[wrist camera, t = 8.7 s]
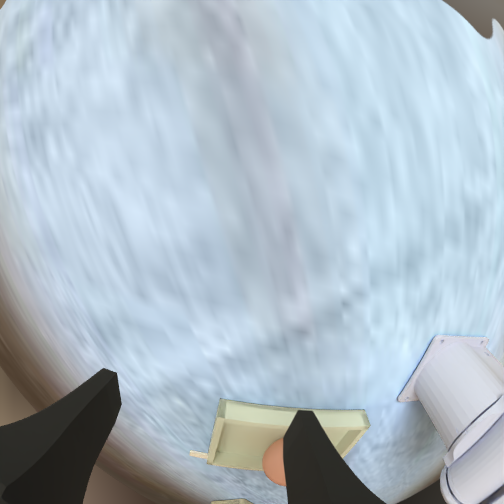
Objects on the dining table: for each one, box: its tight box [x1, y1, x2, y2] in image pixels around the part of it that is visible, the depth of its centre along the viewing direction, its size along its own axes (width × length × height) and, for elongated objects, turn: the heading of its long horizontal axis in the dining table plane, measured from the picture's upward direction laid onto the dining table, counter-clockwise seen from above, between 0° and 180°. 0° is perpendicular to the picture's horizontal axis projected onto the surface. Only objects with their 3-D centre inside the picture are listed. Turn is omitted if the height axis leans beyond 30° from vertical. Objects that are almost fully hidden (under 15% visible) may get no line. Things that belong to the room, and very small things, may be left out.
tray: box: [207, 399, 371, 471], centre depth 22 cm, size 14×10×2 cm
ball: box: [262, 438, 286, 486], centre depth 20 cm, size 6×6×6 cm
